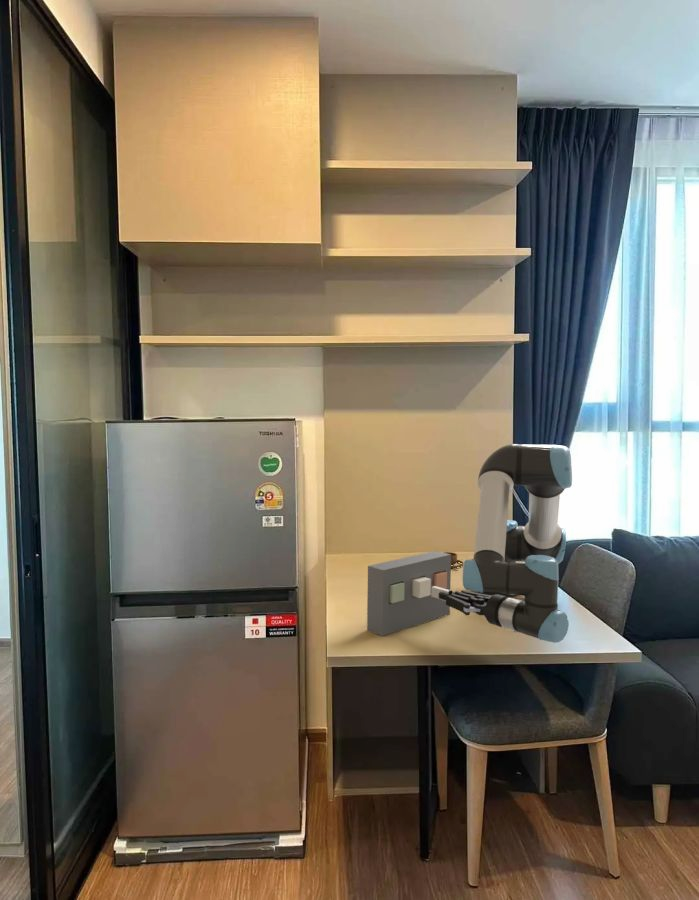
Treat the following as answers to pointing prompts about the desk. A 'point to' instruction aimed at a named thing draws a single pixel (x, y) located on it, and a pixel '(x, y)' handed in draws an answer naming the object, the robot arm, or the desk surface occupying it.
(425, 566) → the button panel
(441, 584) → the terracotta button
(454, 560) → the place setting
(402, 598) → the sage green button
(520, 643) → the desk surface
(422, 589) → the cream button
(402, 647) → the desk surface
